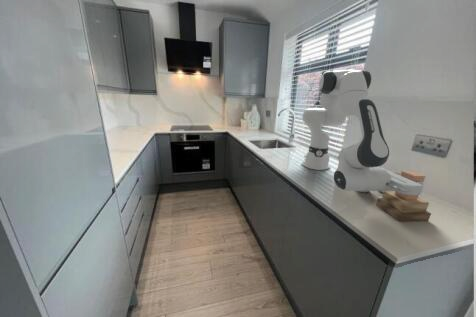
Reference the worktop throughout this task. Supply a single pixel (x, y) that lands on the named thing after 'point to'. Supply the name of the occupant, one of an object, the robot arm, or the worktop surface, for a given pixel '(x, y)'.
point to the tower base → (403, 216)
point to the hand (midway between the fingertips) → (409, 179)
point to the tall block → (413, 177)
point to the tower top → (404, 203)
